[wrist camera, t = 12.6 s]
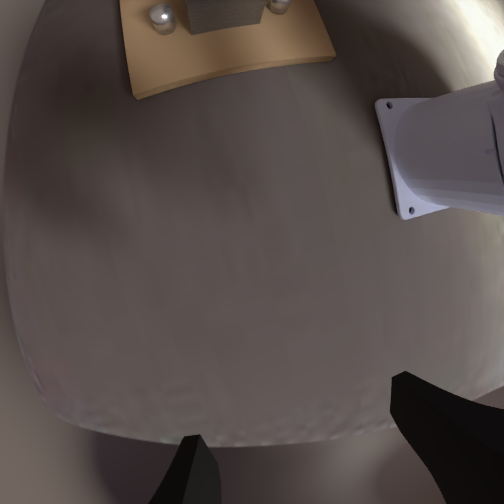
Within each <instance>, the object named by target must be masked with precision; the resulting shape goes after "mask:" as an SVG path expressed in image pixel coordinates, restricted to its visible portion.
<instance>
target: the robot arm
mask: <svg viewBox="0 0 504 504" xmlns="http://www.w3.org/2000/svg"><path fill="white" fill-rule="evenodd" d="M494 79H495V80H493V81H490V82H486V83H482V84H478V85H475V86H471V87H468V88H464V89H461V90H457V91H454V92H451V93H448V94H444V95H441V96H438V97H435V98H387V99H379V100H377V101H376V102H375V110H376V113H377V117H378V121H379V124H380V128H381V132H382V136H383V140H384V144H385V149H386V153H387V158H388V162H389V167H390V172H391V177H392V183H393V188H394V194H395V200H396V207H397V213H398V216H399V217H400V218H401V219H404V220H407V219H410V218H414V217H417V216H421V215H424V214H428V213H431V212H434V211H438V210H441V209H445V208H448V207H455V208H461V209H467V210H473V211H479V212H484V213H490V214H495V215H500V216H504V50H503V51H502V52H501V53H500V54H499V56H498V58H497V63H496V68H495V70H494ZM386 104H389V106H390V109H389V108H387V105H386ZM410 207H411V213H409V208H410ZM390 413H391V415H392V417H393V419H394V421H395V423H396V425H397V426H398V428H399V430H400V432H401V433H402V434H403V436H404V437H405V439H406V440H407V441H408V443H409V444H410V445H411V447H412V448H413V449H414V451H415V452H416V453H417V455H418V456H419V457H420V459H421V460H422V461H423V463H424V464H425V465H426V467H427V468H428V470H429V471H430V473H431V474H432V476H433V478H434V480H435V482H436V483H437V485H438V487H439V489H440V491H441V493H442V495H443V497H444V499H445V501H446V504H504V409H499V408H495V407H491V406H486V405H483V404H479V403H476V402H473V401H470V400H467V399H465V398H462V397H459V396H457V395H454V394H452V393H450V392H447V391H445V390H443V389H441V388H439V387H437V386H435V385H432V384H430V383H428V382H426V381H424V380H422V379H421V378H419V377H417V376H415V375H413V374H411V373H409V372H407V371H404V372H402V373H400V374H398V375H396V376H393V377H392V387H391V404H390ZM148 504H221V481H220V473H219V466H218V463H217V461H216V460H215V458H214V456H213V455H212V453H211V452H210V450H209V448H208V447H207V445H206V444H205V442H204V440H203V439H202V437H201V435H200V434H199V435H192V436H185V437H184V438H183V439H182V441H181V443H180V446H179V448H178V450H177V452H176V454H175V456H174V459H173V461H172V463H171V465H170V467H169V469H168V471H167V472H166V474H165V476H164V478H163V480H162V482H161V484H160V485H159V487H158V489H157V490H156V492H155V494H154V495H153V497H152V499H151V500H150V502H149V503H148Z"/></svg>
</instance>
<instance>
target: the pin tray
mask: <svg viewBox="0 0 504 504" xmlns="http://www.w3.org/2000/svg"><path fill="white" fill-rule="evenodd" d="M120 10H121V19H122V27H123V35H124V43H125V50H126V57H127V63H128V70H129V76H130V81H131V87H132V93H133V96H134V97H135V98H136V99H137V100H140V99H143V98H145V97H148V96H151V95H154V94H157V93H161V92H164V91H167V90H170V89H174V88H177V87H180V86H184V85H188V84H191V83H195V82H199V81H203V80H207V79H211V78H216V77H220V76H225V75H229V74H234V73H239V72H245V71H250V70H256V69H262V68H269V67H276V66H284V65H292V64H302V63H314V62H329V61H332V60H333V59H334V58H335V57H336V53H335V50H334V48H333V45H332V42H331V40H330V37H329V35H328V32H327V30H326V27H325V25H324V23H323V20H322V18H321V16H320V13H319V11H318V9H317V7H316V5H315V2H314V0H266V4H265V7H264V11H263V14H262V18H261V21H260V24H254V25H246V26H239V27H233V28H227V29H221V30H216V31H211V32H206V33H201V34H197V35H192V33H191V29H190V25H189V21H188V17H187V12H186V8H185V4H184V0H120Z"/></svg>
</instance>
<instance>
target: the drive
mask: <svg viewBox="0 0 504 504" xmlns="http://www.w3.org/2000/svg"><path fill="white" fill-rule="evenodd" d="M184 4H185V8H186V12H187V17H188V21H189V25H190V29H191V33H192V35H197V34H201V33H206V32H211V31H216V30H221V29H227V28H233V27H239V26H246V25H254V24H260V21H261V18H262V14H263V11H264V7H265V4H266V0H184Z"/></svg>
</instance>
